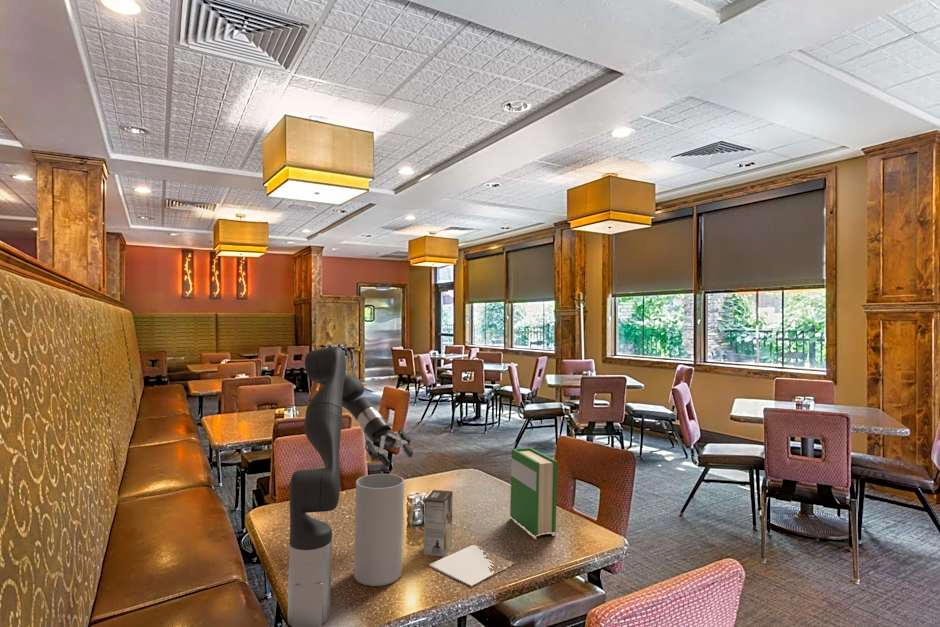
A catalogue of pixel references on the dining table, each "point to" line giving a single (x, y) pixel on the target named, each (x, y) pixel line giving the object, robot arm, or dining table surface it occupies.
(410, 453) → the robot arm
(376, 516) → the cylinder vase
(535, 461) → the hardback book
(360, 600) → the dining table surface
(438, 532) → the coffee box
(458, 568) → the mat
